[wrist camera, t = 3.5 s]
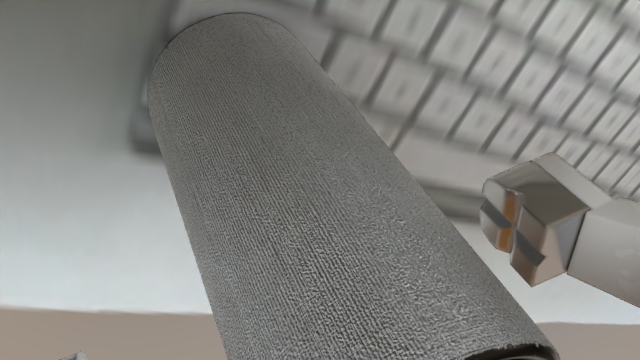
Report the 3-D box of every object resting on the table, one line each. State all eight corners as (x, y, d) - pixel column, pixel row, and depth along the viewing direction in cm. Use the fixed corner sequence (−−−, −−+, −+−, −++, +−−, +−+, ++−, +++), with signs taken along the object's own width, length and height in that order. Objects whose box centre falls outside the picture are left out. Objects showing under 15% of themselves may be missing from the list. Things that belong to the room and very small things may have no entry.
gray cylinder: (169, 176, 16) (294, 568, 9) (122, 33, 13) (260, 456, 6) (313, 134, 17) (529, 448, 10) (302, -7, 14) (606, 301, 7)
